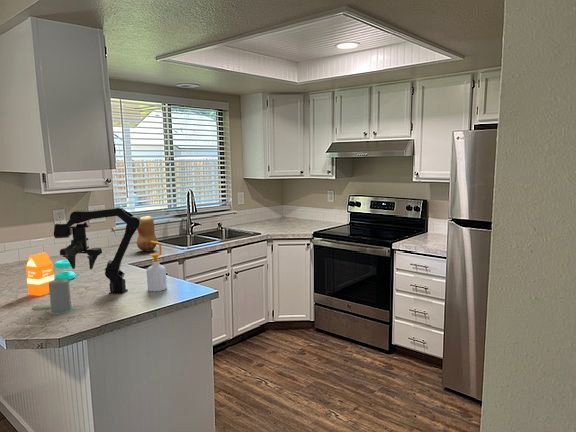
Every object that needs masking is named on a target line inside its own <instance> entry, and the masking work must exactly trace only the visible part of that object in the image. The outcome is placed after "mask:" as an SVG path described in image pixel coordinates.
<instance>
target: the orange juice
mask: <svg viewBox="0 0 576 432" xmlns="http://www.w3.org/2000/svg"><path fill="white" fill-rule="evenodd" d="M25 271H26V272H25V273H26V283H27V290H28V292H27V293H28V296H38V297H42V296H44V295H48V294H49V285H48V284H49V282H50V281H53V280H55V273H54V263H53V261H52V260H51V258H50V257H49V255H48V253H47V252H46V251H43V252H40V253H36V254H31V255H29V258H28V260H27V263H26V265H25Z"/></svg>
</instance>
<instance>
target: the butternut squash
mask: <svg viewBox="0 0 576 432" xmlns="http://www.w3.org/2000/svg"><path fill="white" fill-rule="evenodd" d="M139 218H140V219H141V224H140V225H139V227H138V228H137V230H136V231H137V233H138V236H137V240H136V246H137V248H138V249H139V250H141V251H143V252H151V251H153V250H154V249H156V247H157V245H158V244H156V243H152V242H151V241H157V242H158V240H157V237H156V234H155V233H156V232H155V223H154V222H155V220H154V218H153V217H152V216H151V215H147V216H146V215H145V216H142V217H139Z"/></svg>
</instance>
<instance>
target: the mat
mask: <svg viewBox="0 0 576 432" xmlns="http://www.w3.org/2000/svg"><path fill="white" fill-rule="evenodd" d="M50 309H51V304H50V302H46V303H45V302H44V303H41V304H40V303H39V304H36V305H34V306H32V308H31V310H33V311H38V312H39V311H47V310H50Z"/></svg>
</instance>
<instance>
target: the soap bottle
mask: <svg viewBox="0 0 576 432" xmlns="http://www.w3.org/2000/svg"><path fill="white" fill-rule="evenodd" d="M151 242H152V243H156V244H157V245H158V247H159V252H157V253H150V254H149V256H150V257H152V258H153V259H152V260H151V265H150V266H148V268H147V270H146V279H147V281H146V282H147V290H148V291H149V292H152V291H153V292H155V293H156V291H157V292H162V290H163V291H165V290H166V289H168V286H167V282H168V281H167V271H166V270H167V269H166V267H165V266H164V265H162V264H160V259H158V257H159V256H161V255H162V245H161V243H160V242H159V241H158V240H157V241H151Z"/></svg>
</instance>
